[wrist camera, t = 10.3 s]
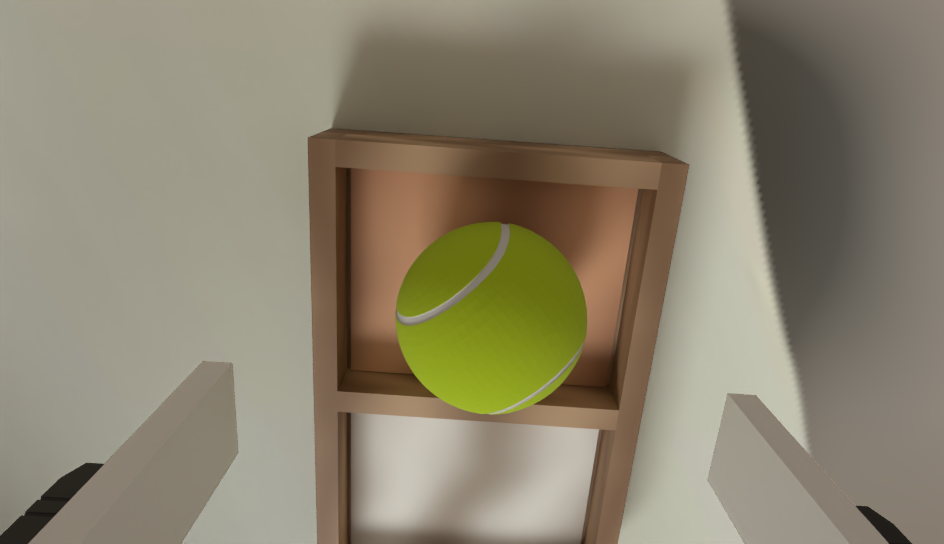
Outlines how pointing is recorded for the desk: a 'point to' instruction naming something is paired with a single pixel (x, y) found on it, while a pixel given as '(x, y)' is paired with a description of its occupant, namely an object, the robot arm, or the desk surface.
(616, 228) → the socket board
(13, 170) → the desk surface
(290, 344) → the desk surface
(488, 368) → the tennis ball
